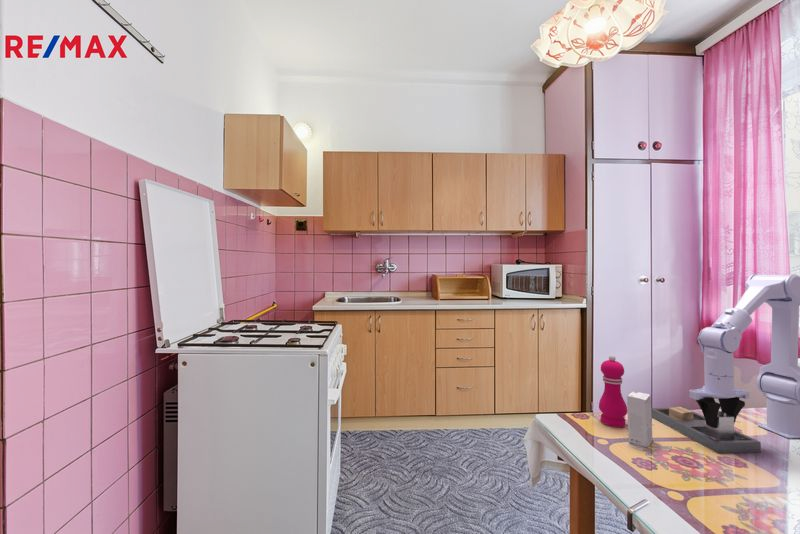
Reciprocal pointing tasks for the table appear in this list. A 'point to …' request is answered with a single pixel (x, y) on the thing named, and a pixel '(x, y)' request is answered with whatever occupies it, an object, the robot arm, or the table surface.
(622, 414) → the pepper mill
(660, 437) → the table surface
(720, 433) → the grey block with tab
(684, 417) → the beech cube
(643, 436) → the skincare box
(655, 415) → the grey slotted frame
